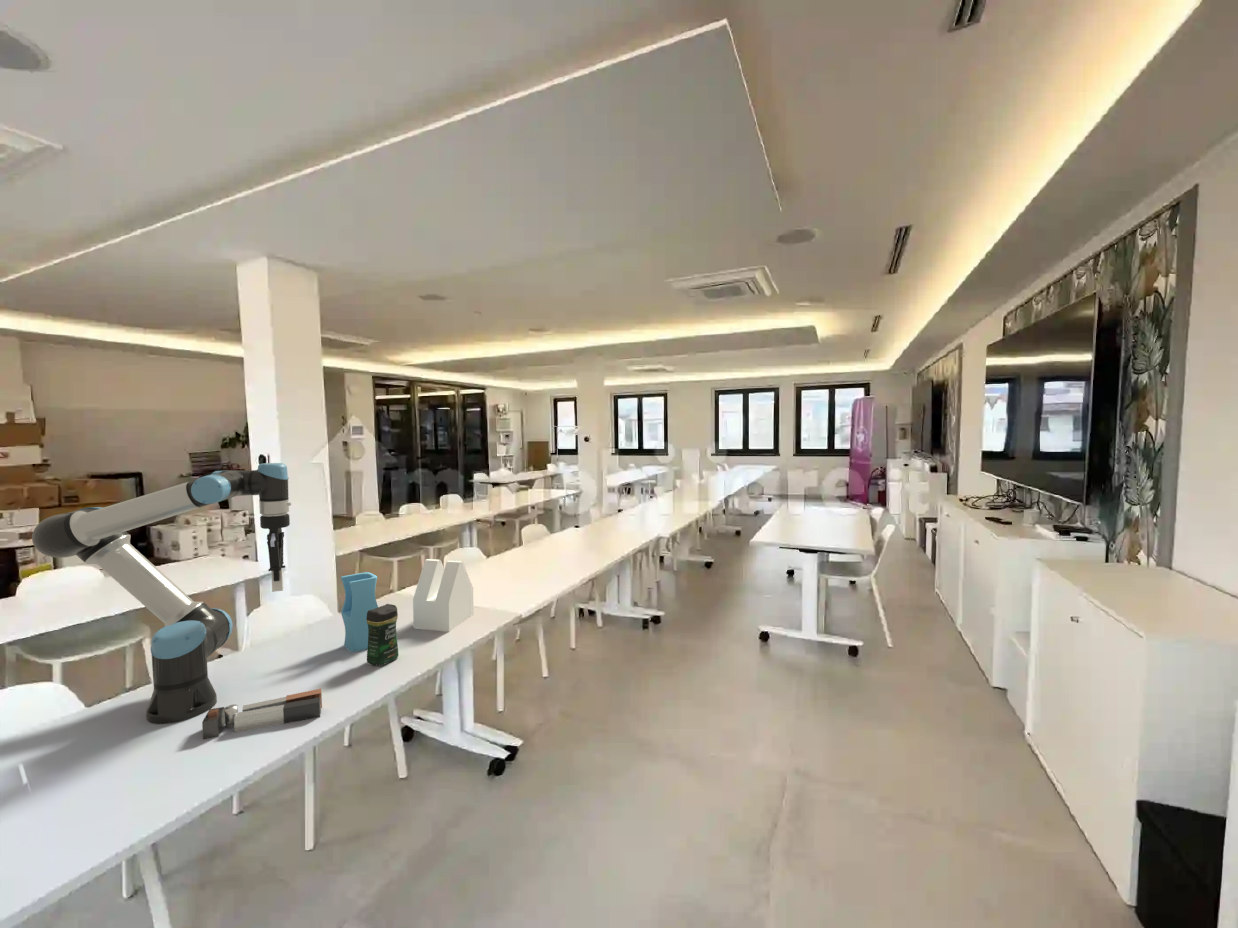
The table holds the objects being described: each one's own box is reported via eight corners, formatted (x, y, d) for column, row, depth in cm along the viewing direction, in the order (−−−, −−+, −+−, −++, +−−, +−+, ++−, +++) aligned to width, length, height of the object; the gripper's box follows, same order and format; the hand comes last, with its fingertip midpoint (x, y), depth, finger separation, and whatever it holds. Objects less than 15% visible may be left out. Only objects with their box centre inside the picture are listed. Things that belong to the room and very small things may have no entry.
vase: (342, 644, 195) (340, 576, 194) (370, 637, 202) (368, 571, 200) (352, 653, 188) (349, 582, 187) (380, 645, 195) (379, 576, 193)
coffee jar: (380, 668, 177) (378, 612, 175) (362, 664, 180) (361, 609, 178) (403, 656, 185) (402, 603, 184) (386, 652, 189) (384, 600, 187)
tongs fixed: (203, 739, 136) (202, 718, 135) (210, 726, 142) (209, 705, 141) (319, 717, 146) (319, 698, 146) (322, 706, 152) (321, 687, 152)
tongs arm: (224, 728, 140) (223, 710, 140) (226, 723, 143) (225, 705, 143) (321, 707, 151) (321, 690, 151) (321, 702, 154) (321, 686, 154)
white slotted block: (449, 632, 208) (448, 568, 206) (413, 628, 212) (412, 565, 210) (473, 614, 227) (472, 556, 225) (440, 611, 230) (439, 553, 229)
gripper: (285, 516, 160) (288, 595, 162) (292, 510, 172) (294, 583, 174) (255, 518, 157) (259, 598, 159) (264, 511, 169) (267, 586, 171)
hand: (277, 590), depth 166 cm, fingers closed
